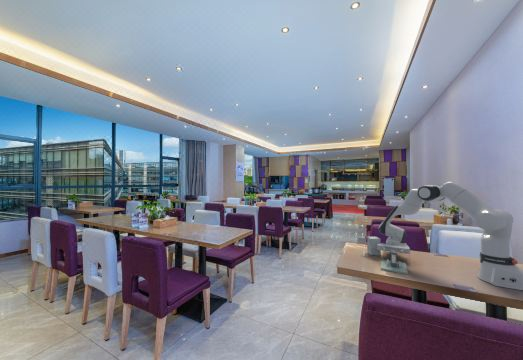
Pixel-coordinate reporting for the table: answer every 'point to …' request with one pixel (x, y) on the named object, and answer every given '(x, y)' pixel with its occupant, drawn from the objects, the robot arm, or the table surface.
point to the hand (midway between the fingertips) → (393, 251)
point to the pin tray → (399, 269)
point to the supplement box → (373, 245)
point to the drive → (393, 258)
